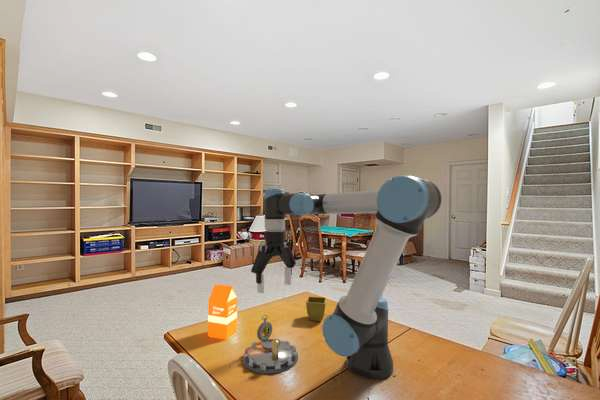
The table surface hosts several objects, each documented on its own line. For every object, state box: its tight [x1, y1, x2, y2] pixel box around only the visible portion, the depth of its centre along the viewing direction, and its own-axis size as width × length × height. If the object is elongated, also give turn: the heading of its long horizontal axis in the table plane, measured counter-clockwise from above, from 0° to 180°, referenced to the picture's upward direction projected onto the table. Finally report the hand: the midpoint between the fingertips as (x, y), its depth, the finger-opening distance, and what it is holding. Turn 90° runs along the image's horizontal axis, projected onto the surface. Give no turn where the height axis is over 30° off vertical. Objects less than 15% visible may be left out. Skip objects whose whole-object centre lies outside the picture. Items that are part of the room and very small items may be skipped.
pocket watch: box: [256, 314, 281, 350], centre depth 103 cm, size 8×8×10 cm
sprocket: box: [243, 338, 298, 370], centre depth 100 cm, size 18×18×8 cm
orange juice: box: [207, 283, 238, 341], centre depth 118 cm, size 8×9×20 cm
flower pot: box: [305, 296, 327, 322], centre depth 134 cm, size 9×9×9 cm
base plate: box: [242, 353, 299, 375], centre depth 99 cm, size 19×19×1 cm
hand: (274, 288), depth 106 cm, fingers open, 13 cm apart
